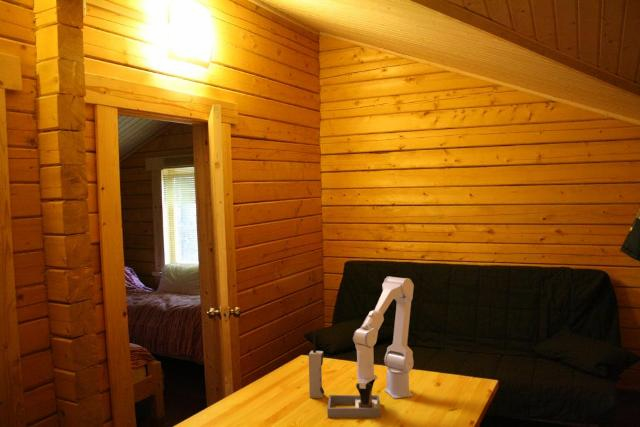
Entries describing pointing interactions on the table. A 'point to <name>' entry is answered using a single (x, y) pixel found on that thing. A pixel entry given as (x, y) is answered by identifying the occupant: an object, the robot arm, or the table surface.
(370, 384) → the walnut peg
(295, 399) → the table surface
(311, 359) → the vintage mobile phone
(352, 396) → the grey tray
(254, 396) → the table surface
